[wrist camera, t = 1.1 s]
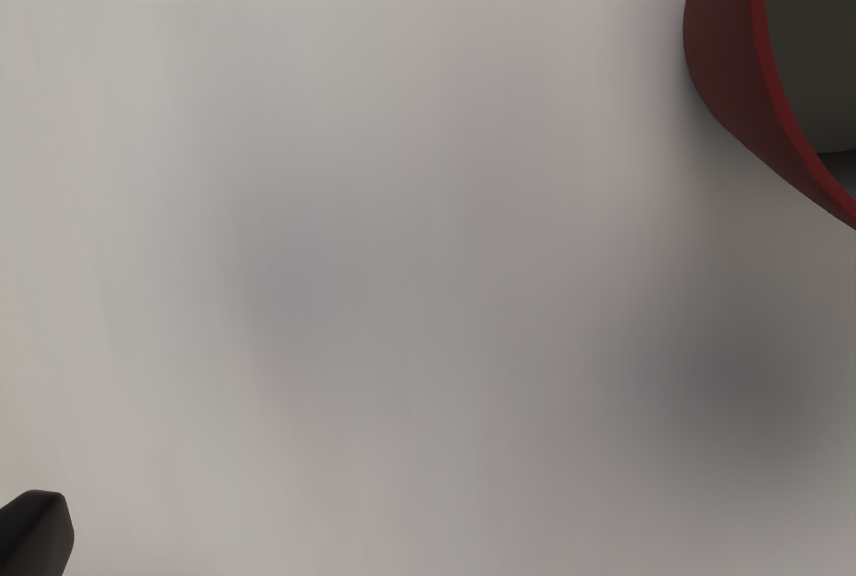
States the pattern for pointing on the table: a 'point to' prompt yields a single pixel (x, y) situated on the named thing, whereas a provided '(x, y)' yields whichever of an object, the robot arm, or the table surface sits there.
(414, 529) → the table surface
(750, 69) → the mug
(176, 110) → the table surface
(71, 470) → the table surface
